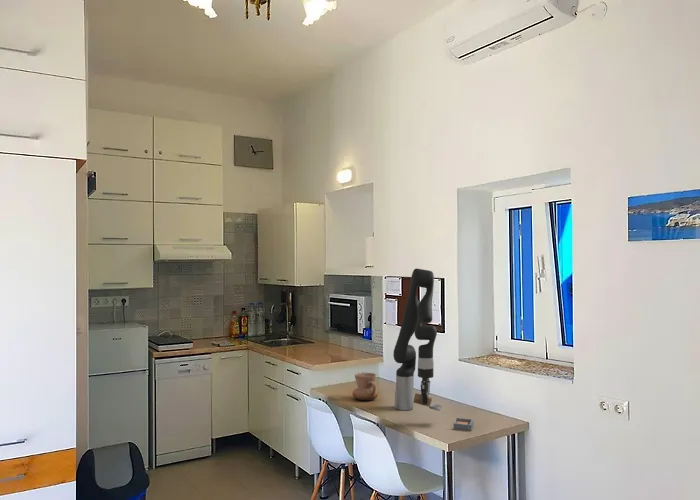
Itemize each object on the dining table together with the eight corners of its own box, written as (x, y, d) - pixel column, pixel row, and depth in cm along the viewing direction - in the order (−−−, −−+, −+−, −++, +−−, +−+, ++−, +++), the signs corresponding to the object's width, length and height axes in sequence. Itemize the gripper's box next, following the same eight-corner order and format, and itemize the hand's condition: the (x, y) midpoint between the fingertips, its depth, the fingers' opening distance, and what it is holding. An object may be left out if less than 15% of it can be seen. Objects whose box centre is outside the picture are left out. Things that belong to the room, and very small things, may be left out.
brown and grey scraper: (412, 403, 261) (414, 395, 261) (415, 400, 267) (416, 392, 267) (439, 411, 257) (440, 402, 257) (441, 407, 263) (443, 399, 263)
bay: (453, 429, 252) (453, 423, 252) (456, 422, 263) (456, 417, 263) (471, 430, 250) (471, 425, 250) (473, 424, 260) (473, 419, 260)
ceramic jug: (346, 397, 312) (346, 372, 313) (367, 395, 320) (367, 370, 321) (363, 404, 297) (363, 378, 298) (385, 401, 305) (385, 375, 305)
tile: (456, 428, 255) (456, 424, 255) (457, 425, 260) (457, 421, 260) (467, 429, 253) (467, 425, 253) (468, 426, 258) (468, 422, 258)
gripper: (420, 364, 271) (420, 399, 270) (415, 368, 258) (414, 406, 257) (435, 365, 269) (435, 401, 268) (431, 369, 256) (430, 407, 255)
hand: (425, 403), depth 262 cm, fingers closed on brown and grey scraper, 2 cm apart
